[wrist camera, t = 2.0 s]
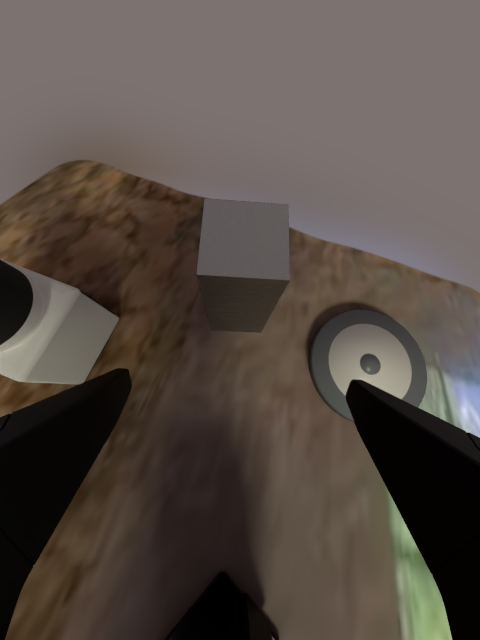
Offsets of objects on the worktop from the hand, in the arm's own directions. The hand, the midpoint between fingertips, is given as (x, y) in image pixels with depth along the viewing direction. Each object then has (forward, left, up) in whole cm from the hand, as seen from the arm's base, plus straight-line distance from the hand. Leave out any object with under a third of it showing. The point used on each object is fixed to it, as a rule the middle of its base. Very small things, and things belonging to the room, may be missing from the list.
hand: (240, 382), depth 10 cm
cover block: (+6, +6, -13) cm, 16 cm away
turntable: (+11, -7, -13) cm, 19 cm away
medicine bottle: (-8, +15, -14) cm, 22 cm away
